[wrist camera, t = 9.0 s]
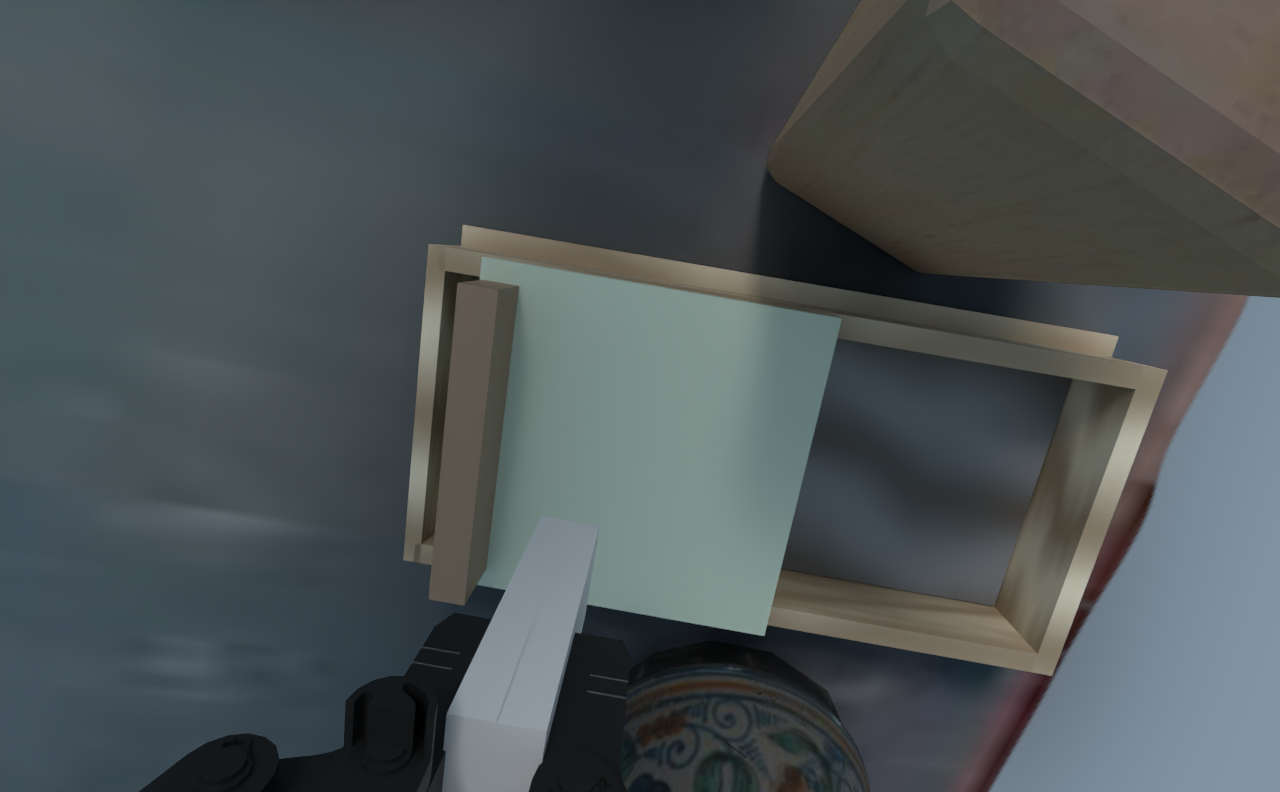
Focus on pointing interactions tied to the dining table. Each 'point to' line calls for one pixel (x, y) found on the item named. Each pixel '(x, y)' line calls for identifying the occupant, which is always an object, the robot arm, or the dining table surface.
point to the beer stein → (733, 726)
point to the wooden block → (1052, 140)
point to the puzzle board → (891, 457)
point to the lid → (627, 438)
